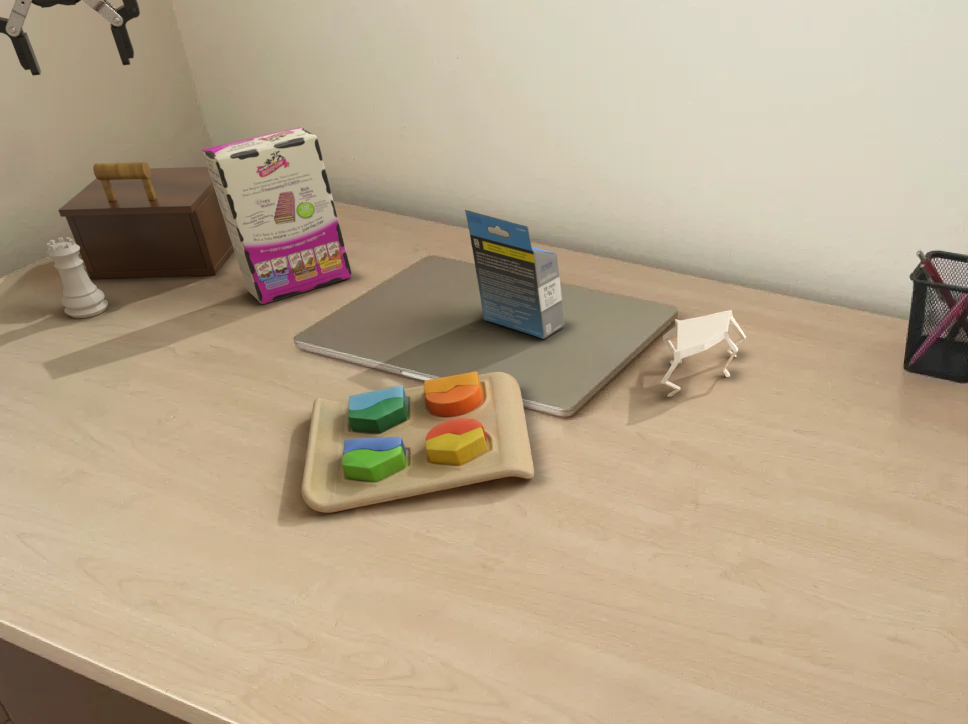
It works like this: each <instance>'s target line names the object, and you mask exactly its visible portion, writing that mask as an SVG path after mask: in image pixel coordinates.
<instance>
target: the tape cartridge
mask: <svg viewBox="0 0 968 724" xmlns="http://www.w3.org/2000/svg"><path fill="white" fill-rule="evenodd" d="M464 212H465V217H466V223H467V227H468V231H469V232H468V233H469V237H470V238H469V239H470V243H471V244H470V245H471V247H472V248H471V249H472V256H473V261H474V268H475V273H476V279H477V286H478V291H479V297H480V304H481V309H482V317H483V320H484V321H485V322H488V323H492V324H496V325H500V326H503V327H506V328H508V329H512V330H516V331H518V332H521V333H523V334H524V333H525V334H527V335H531V336H534V337H537V338H539V339H542V340H545V339H547V338H548V337H550V336H552V335H553V334H554V333H556V332H558V331H560V330H562V329H564V327H565V316H564V306H563V305H564V304H563V297H562V296H563V295H562V288H561V287H562V286H561V279H560V270H559V260H558V254H557V252H553V251H549V250H546V249H542V248H539V247H535V246H532V241H531V237H530V235H531V234H530V230H529V226H527V225H523V224H520V223H516V222H512V221H509V220H505V219H502V218H497V217H493V216H491V215H486V214H482V213H479V212H475V211H472V210H468V209H464ZM496 227H498V228H499V229H500V230H501V231H504V232H506V233H507V234H508V236H505V235H502V234H498V233H496V232H495V233H494V232H491V231H490V230H489V228H493V229H495V228H496Z"/></svg>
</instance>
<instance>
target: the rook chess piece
mask: <svg viewBox="0 0 968 724" xmlns="http://www.w3.org/2000/svg"><path fill="white" fill-rule="evenodd" d="M57 240H58V242H56V240H55V239H50V240H49V241H48V242H47V243H46V246H47V250H46V255H47V256H49V257H50V258H51V259H53V261H54V268H55V269H56V270H57V271H58V273H59V275H60V280H61V284H62V288H63V289H62V297H61V305H62V306H63V307H65V308H64V313H65V314H66V315H68V316H69V317H71V318H72V319H73V318H74V319H87V318H92V317H95V316H98V315H100V314H102V313H104V312H105V311H106V310H107V308H108V305H109V301H108V300H107V299H105V293H104V291H102V289H100V288H97V285H96V284H95V283H93V281H92V279H90V277H89V274H88V272H87V270H85V266H84V265H83V264H84V262H83V259H82V258H80V256H79V254H80V252H79V250H80V246H78V245H77V244H76V242H75V240H74V239H73V238H71V237H69V236H66V237H65V240H64V237H63V236H61V237H57Z"/></svg>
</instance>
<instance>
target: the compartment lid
mask: <svg viewBox="0 0 968 724" xmlns="http://www.w3.org/2000/svg"><path fill="white" fill-rule="evenodd" d="M92 170H93V174H94V177H95V178H94V179H93V180H92V181H91V182H90V183H89V184H87V186H85V187H84V188H83V189H81V190H80V191H79V192H78V193H76V195H74V196H73V197H72V198H70V199H69V200H68V201H67V202H66V203H65V204H63V205H62V206H61V207H60V208H59V209H58V214H59V216H60V217H61V218H62V217H63V218H66V217H68V216H102V215H135V214H169V213H193V211H194V210H195V209H196V208H197V207H198V206H199V205H200V204H201V203H202V202H203V201H204V199H205V198H206V197H207V196H208V195H209V194H210V193H211V192H212V191H213V190H214V186H213V183H212V180H211V177H210V174H209V171H208V167H207V166H193V167H192V166H191V167H189V166H188V167H155V168H153V167H150V165H149V163H148V162H146V161H132V162H131V161H129V162H125V161H124V162H96V163H94V164H93V169H92Z"/></svg>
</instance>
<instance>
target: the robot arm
mask: <svg viewBox="0 0 968 724" xmlns="http://www.w3.org/2000/svg"><path fill="white" fill-rule="evenodd" d="M81 1H83V2H84V3H85V4H86V5H88V7H90V8H91V9H92V10H94V11H95V12H96V13H98V14H99V15H101V17H103V18H104V19H105V20H106V21H108V22H109V23H110V32H111V34H112V37H113V40H114V43H115V46H116V49H117V52H118V54H119V57H120V61H121V64H122V66H130V65H131V59H134V57H135V51H134V47H133V44H132V43H133V42H132V40H131V38H130V34H129V31H128V28H127V23H128V22H129V21H131V20H132V19H136V18H138V17H139V16H140V14H141V11H140V6H139V3H138V0H121V1H122V3H123V4H122V5H120V6H118V7H116V6H114V5H113V4H112V3H111V2H110V1H109V0H15V1H14V3H13V6H12V9H11V11H10V14H9V17H2V16H0V34H4V35H6V36H7V37H8V38H9V39H10V41H11V44H12V46H13V49H14V51H15V54H16V56H17V59H18V62H19V65H20V67H22V69H24V71H30V73H31V75H32V77H34V76H41V73H42V70H41V67H40V64H39V62H38V59H37V57H36V56H37V55H36V54H35V51H34V48H33V46H32V43H31V41H30V38H29V35H28V33H27V32H25V31H24V29H23V26H24V23H25V21H26V19H27V16H28V13H29V10H30V8H31V5H32V4H33V5H34V6H37V7H41V9H44V8H45V9H46V8H51V7H54V6H57V5H62V6H76V5H77V4H79V3H80V2H81Z"/></svg>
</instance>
